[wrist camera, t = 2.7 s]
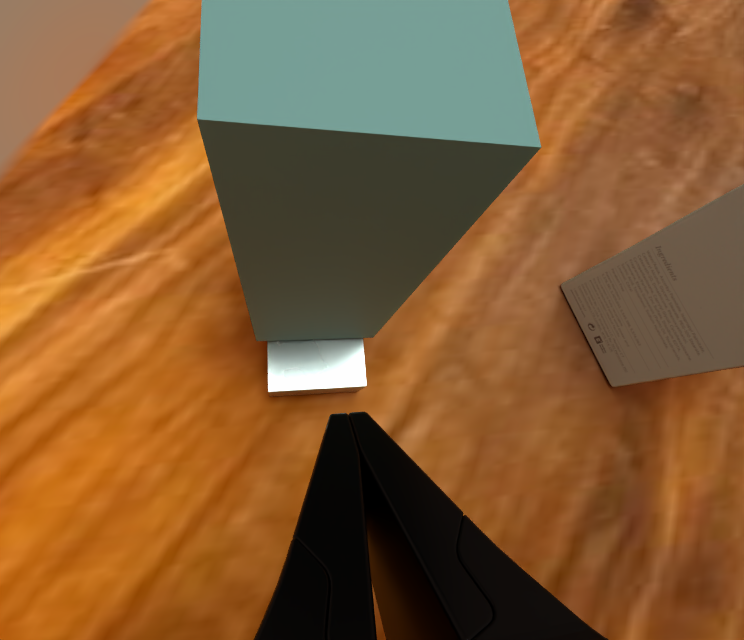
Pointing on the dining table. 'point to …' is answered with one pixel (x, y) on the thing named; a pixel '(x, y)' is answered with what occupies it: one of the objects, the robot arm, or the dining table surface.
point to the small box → (669, 299)
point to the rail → (315, 366)
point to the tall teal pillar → (355, 147)
